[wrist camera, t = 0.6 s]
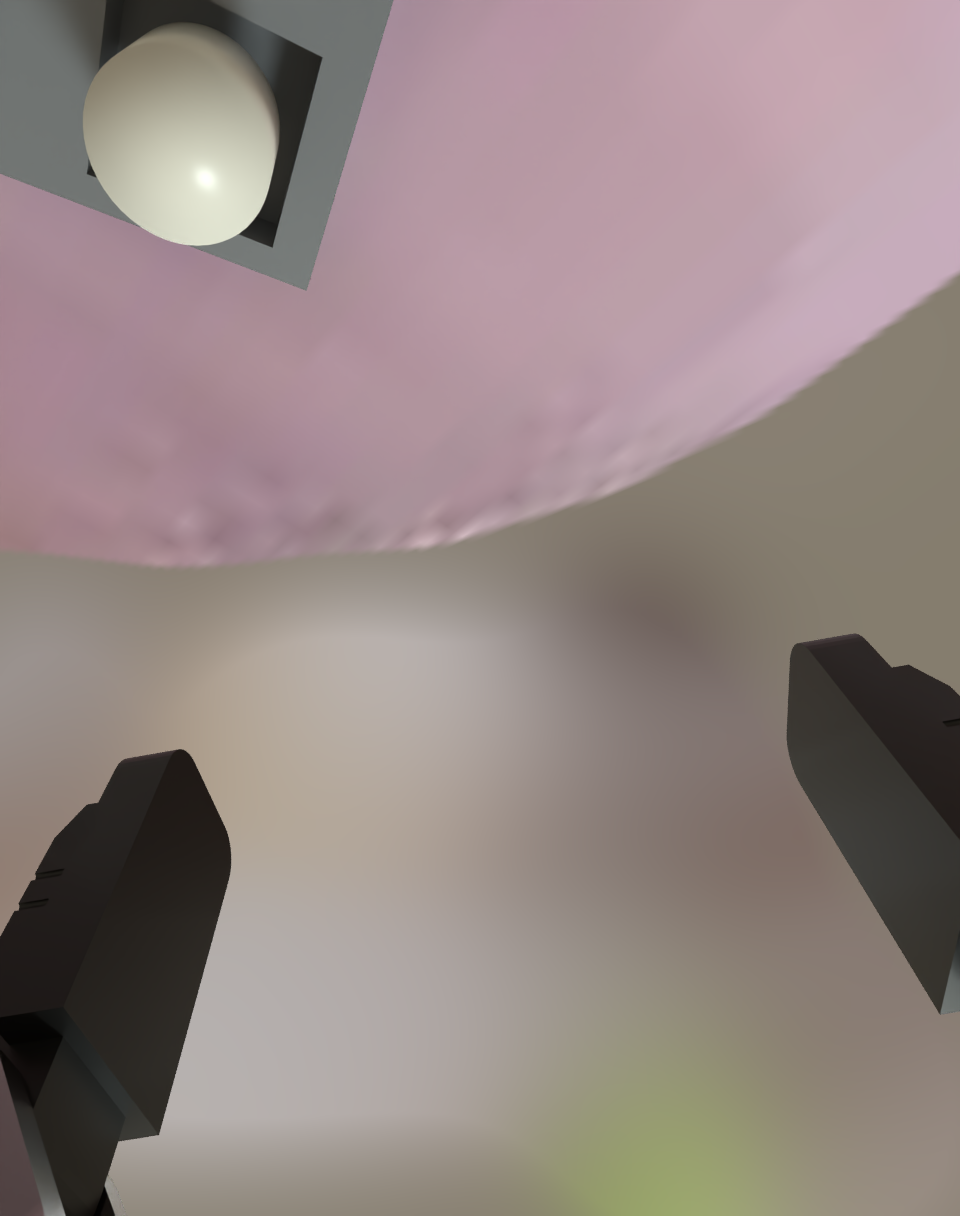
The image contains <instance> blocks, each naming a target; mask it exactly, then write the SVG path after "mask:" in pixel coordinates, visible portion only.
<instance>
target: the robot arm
mask: <svg viewBox="0 0 960 1216" xmlns="http://www.w3.org/2000/svg"><path fill="white" fill-rule="evenodd" d="M787 745H788V751H789V756H790V760H791V764H792V767H793V769H794V772H795V774H796V777H797V779H798V781H799V782H800V785H801V786H802V788H803V790H804V791H805V793H806V794H807V796H808V798H809V800H810V801H811V803H812V804H813V806H814V808H815V809H816V811H817V813H818V814H819V816H820V818H821V819H822V821H823V823H824V824H825V826H826V828H827V829H828V831H829V832H830V834H831V836H832V837H833V839H834V841H835V842H836V844H837V845H838V847H839V849H840V851H841V852H842V854H843V856H844V857H845V859H846V860H847V862H848V864H849V865H850V867H851V869H852V870H853V872H854V873H855V875H856V877H857V878H858V880H859V882H860V884H861V885H862V887H863V888H864V890H865V892H866V893H867V895H868V897H869V898H870V900H871V902H872V903H873V905H874V907H875V908H876V910H877V912H878V913H879V915H880V916H881V918H882V920H883V921H884V923H885V925H886V926H887V928H888V929H889V931H890V933H891V935H892V936H893V938H894V940H895V941H896V943H897V944H898V946H899V948H900V949H901V951H902V953H903V954H904V956H905V958H906V959H907V961H908V962H909V964H910V966H911V967H912V969H913V970H914V972H915V974H916V976H917V977H918V979H919V981H920V982H921V984H922V986H923V987H924V989H925V991H926V992H927V994H928V995H929V997H930V999H931V1000H932V1002H933V1004H934V1005H935V1007H936V1009H937V1010H938V1012H939V1014H947V1013H953V1012H959V1011H960V696H959V695H958V694H957V693H956V692H955V691H954V690H953V689H952V688H951V687H950V686H948V685H946V684H945V683H943V682H941V681H939V680H937V679H935V678H933V677H931V676H929V675H927V674H925V673H924V672H921V671H920V670H918V669H916V668H914V667H912V666H910V665H905V666H899V667H893V668H891V667H890V665H889V664H888V663H887V662H886V661H885V660H884V659H883V658H882V657H881V656H880V655H879V654H878V653H877V651H876V650H875V649H874V648H873V647H872V646H871V645H870V644H869V643H868V642H867V641H866V640H865V639H864V638H863V637H862V636H860V635H859V634H849V635H843V636H837V637H832V638H826V639H820V640H814V641H809V642H803V643H797V644H796V645H794V647H793V649H792V652H791V657H790V673H789V696H788V717H787ZM230 870H231V848H230V843H229V837H228V834H227V831H226V828H225V826H224V824H223V822H222V820H221V817H220V815H219V813H218V811H217V809H216V807H215V805H214V803H213V801H212V799H211V796H210V794H209V792H208V790H207V788H206V786H205V784H204V781H203V779H202V777H201V775H200V773H199V771H198V769H197V767H196V765H195V762H194V761H193V759H192V757H191V756H190V754H188V753H187V752H186V751H185V750H182V749H179V750H173V751H167V752H162V753H156V754H150V755H145V756H139V757H133V758H127V759H124V760H123V761H121V762H120V763H119V764H118V766H117V768H116V769H115V771H114V773H113V775H112V777H111V779H110V781H109V783H108V785H107V787H106V789H105V791H104V793H103V794H102V796H101V798H100V800H99V802H98V803H94V804H88V805H86V806H85V807H84V808H83V809H82V810H81V811H80V812H79V813H78V815H76V817H75V818H74V819H73V820H72V821H71V822H70V823H69V824H68V825H67V826H66V827H65V828H64V829H63V830H62V831H61V832H60V833H59V834H58V835H57V836H56V837H55V838H54V840H53V842H52V844H51V846H50V847H49V849H48V851H47V853H46V855H45V856H44V858H43V860H42V862H41V864H40V865H39V868H38V869H37V871H36V873H35V874H36V879H35V880H33V881H31V882H30V884H29V885H28V887H27V889H26V891H25V893H24V895H23V896H22V898H21V900H20V902H19V911H14V913H13V915H12V916H11V918H10V920H9V922H8V924H7V926H6V927H5V929H4V931H3V933H2V935H1V936H0V1216H127V1215H126V1212H125V1209H124V1207H123V1204H122V1201H121V1199H120V1196H119V1193H118V1191H117V1188H116V1186H115V1184H114V1182H113V1180H112V1179H111V1178H110V1177H109V1175H108V1172H109V1169H110V1166H111V1163H112V1159H113V1156H114V1153H115V1150H116V1147H117V1143H118V1141H124V1140H130V1139H137V1138H143V1137H149V1136H155V1135H159V1132H160V1129H161V1125H162V1121H163V1118H164V1114H165V1111H166V1107H167V1103H168V1099H169V1096H170V1092H171V1088H172V1085H173V1081H174V1078H175V1074H176V1070H177V1067H178V1063H179V1059H180V1056H181V1052H182V1049H183V1045H184V1041H185V1038H186V1034H187V1030H188V1027H189V1023H190V1019H191V1016H192V1012H193V1008H194V1005H195V1001H196V998H197V994H198V990H199V987H200V983H201V979H202V976H203V972H204V968H205V964H206V961H207V957H208V954H209V950H210V946H211V943H212V939H213V935H214V931H215V928H216V924H217V921H218V917H219V913H220V910H221V906H222V902H223V899H224V895H225V892H226V888H227V884H228V881H229V876H230Z"/></svg>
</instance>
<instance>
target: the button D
mask: <svg viewBox="0 0 960 1216" xmlns="http://www.w3.org/2000/svg"><path fill="white" fill-rule="evenodd" d="M83 134H84V141H85V146H86V150H87V154H88V157H89V160H90V163H91V166H92V168H93V170H94V172H95V174H96V177H97V178H98V180H99V182H100V184H101V185H102V187H103V189H104V190H105V192H106V193H107V194H108V196H109V197H110V198H111V200H112V201H113V202H114V203H115V204H116V205H117V207H118V208H119V209H120V210H121V211H122V212H123V213H124V214H125V215H126V216H128V217H129V218H130V219H131V220H132V221H134V222H135V223H136V224H138V225H139V226H140V227H142V228H143V229H145V230H147V231H148V232H150V233H152V234H154V235H156V236H158V237H160V238H163V239H165V240H168V241H172V242H175V243H179V244H185V245H195V246H201V245H211V244H216V243H220V242H223V241H225V240H228V239H230V238H232V237H234V236H236V235H237V234H239V233H240V232H242V231H243V230H244V229H245V228H247V227H248V226H249V225H250V224H251V222H252V221H253V220H254V219H255V218H256V216H257V215H258V213H259V212H260V210H261V208H262V206H263V204H264V202H265V199H266V196H267V193H268V190H269V186H270V181H271V177H272V173H273V169H274V165H275V160H276V156H277V152H278V147H279V141H280V118H279V113H278V107H277V104H276V100H275V97H274V94H273V91H272V89H271V87H270V84H269V82H268V80H267V78H266V77H265V75H264V73H263V71H262V70H261V69H260V67H259V66H258V64H257V63H256V61H255V60H254V59H253V58H252V57H251V56H250V54H249V53H248V52H247V51H246V50H245V49H244V48H242V47H241V46H240V45H239V44H238V43H237V42H235V41H234V40H233V39H231V38H230V37H229V36H227V35H225V34H223V33H222V32H220V31H218V30H216V29H213V28H211V27H208V26H205V25H201V24H198V23H191V22H173V23H169V24H164V25H161V26H159V27H157V28H154V29H152V30H151V31H149V32H148V33H146V34H145V35H143V36H142V37H140V38H139V39H138V40H136V41H135V42H133V43H132V44H130V45H129V46H128V47H126V48H125V49H123V50H122V51H121V52H119V53H118V54H116V55H115V56H114V57H112V58H111V59H110V60H109V61H108V62H107V63H105V64H104V65H103V66H102V68H101V69H100V70H99V72H98V73H97V74H96V75H95V77H94V79H93V81H92V83H91V85H90V87H89V90H88V93H87V96H86V99H85V104H84V110H83Z"/></svg>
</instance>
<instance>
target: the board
mask: <svg viewBox="0 0 960 1216" xmlns="http://www.w3.org/2000/svg"><path fill="white" fill-rule="evenodd" d="M392 3H393V0H0V174H3V175H5V176H8V177H11V178H13V179H16V180H18V181H21V182H24V183H26V184H29V185H32V186H34V187H37V188H39V189H42V190H45V191H47V192H50V193H52V194H55V195H58V196H60V197H63V198H66V199H68V200H71V201H73V202H76V203H79V204H81V205H84V206H86V207H89V208H92V209H94V210H97V211H100V212H102V213H105V214H107V215H110V216H113V217H115V218H118V219H120V220H123V221H126V222H128V223H131V224H134V225H136V226H139V225H138V224H136V223H135V222H134V221H132V220H131V219H130V218H129V217H128V216H126V215H125V214H124V213H123V212H122V211H121V210H120V209H119V208H118V207H117V205H116V204H115V203H114V202H113V201H112V200H111V198H110V197H109V196H108V194H107V193H106V192H105V190H104V189H103V187H102V185H101V184H100V182H99V180H98V178H97V177H96V174H95V172H94V170H93V168H92V166H91V163H90V160H89V157H88V154H87V150H86V146H85V141H84V134H83V110H84V104H85V99H86V96H87V93H88V90H89V87H90V85H91V83H92V81H93V79H94V77H95V75H96V74H97V73H98V72H99V70H100V69H101V68H102V66H103V65H104V64H105V63H107V62H108V61H109V60H110V59H111V58H112V57H114V56H115V55H116V54H118V53H119V52H121V51H122V50H123V49H125V48H126V47H128V46H129V45H130V44H132V43H133V42H135V41H136V40H138V39H139V38H140V37H142V36H143V35H145V34H146V33H148V32H149V31H151V30H152V29H154V28H157V27H159V26H161V25H164V24H169V23H173V22H191V23H198V24H201V25H205V26H208V27H211V28H213V29H216V30H218V31H220V32H222V33H223V34H225V35H227V36H229V37H230V38H231V39H233V40H234V41H235V42H237V43H238V44H239V45H240V46H241V47H242V48H244V49H245V50H246V51H247V52H248V53H249V54H250V56H251V57H252V58H253V59H254V60H255V61H256V63H257V64H258V66H259V67H260V69H261V70H262V71H263V73H264V75H265V77H266V78H267V80H268V82H269V84H270V87H271V89H272V91H273V94H274V97H275V100H276V104H277V107H278V113H279V118H280V141H279V147H278V152H277V156H276V160H275V165H274V169H273V173H272V177H271V181H270V186H269V190H268V193H267V196H266V199H265V202H264V204H263V206H262V208H261V210H260V212H259V213H258V215H257V216H256V218H255V219H254V220H253V221H252V222H251V224H250V225H249V226H248V227H247V228H245V229H244V230H243V231H242V232H240V233H239V234H237V235H236V236H234V237H232V238H230V239H228V240H225V241H223V242H220V243H216V244H211V245H201V246H195V245H188V246H191V247H194V248H196V249H199V250H201V251H204V252H207V253H209V254H212V255H215V256H217V257H220V258H222V259H225V260H228V261H230V262H233V263H235V264H238V265H241V266H243V267H246V268H249V269H251V270H254V271H256V272H259V273H262V274H264V275H267V276H269V277H272V278H275V279H277V280H280V281H283V282H285V283H288V284H290V285H293V286H296V287H298V288H301V289H303V290H306V291H307V287H308V284H309V280H310V277H311V274H312V270H313V267H314V264H315V260H316V257H317V254H318V250H319V247H320V244H321V240H322V237H323V234H324V230H325V227H326V224H327V220H328V217H329V214H330V210H331V207H332V204H333V200H334V197H335V194H336V190H337V187H338V184H339V180H340V177H341V173H342V170H343V167H344V163H345V160H346V157H347V153H348V150H349V147H350V143H351V140H352V137H353V133H354V130H355V127H356V123H357V120H358V117H359V113H360V110H361V107H362V103H363V100H364V97H365V93H366V90H367V87H368V83H369V80H370V77H371V73H372V70H373V67H374V63H375V60H376V56H377V53H378V50H379V46H380V43H381V40H382V36H383V33H384V30H385V26H386V23H387V20H388V16H389V13H390V10H391V6H392ZM139 227H140V226H139ZM141 228H142V227H141Z"/></svg>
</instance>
